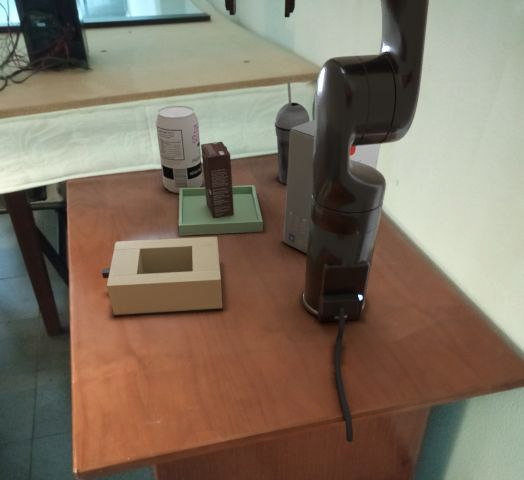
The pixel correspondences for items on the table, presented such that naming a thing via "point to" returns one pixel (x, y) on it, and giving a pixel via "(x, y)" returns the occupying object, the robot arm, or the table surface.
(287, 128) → the beverage cup
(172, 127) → the supplement can
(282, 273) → the table surface
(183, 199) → the tray
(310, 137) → the hard drive box
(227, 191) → the box
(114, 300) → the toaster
